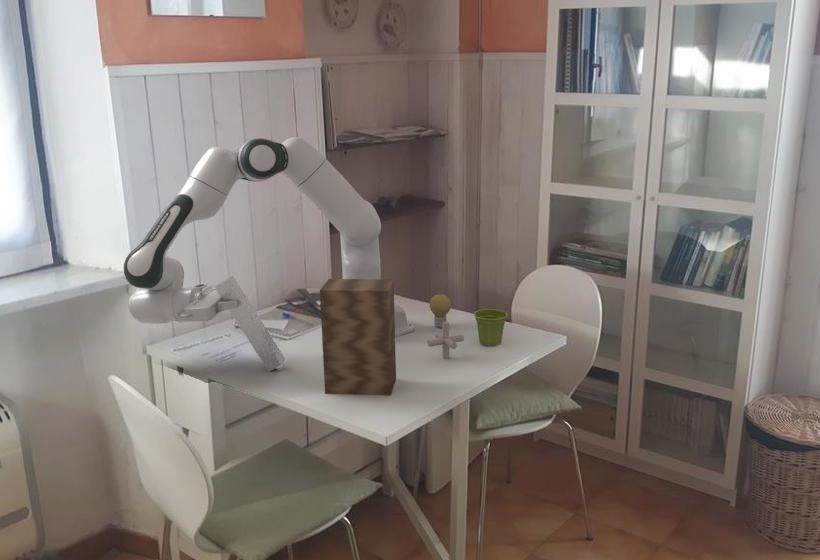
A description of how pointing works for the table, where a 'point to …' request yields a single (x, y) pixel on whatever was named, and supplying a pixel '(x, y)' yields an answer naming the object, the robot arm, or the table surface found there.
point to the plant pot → (490, 326)
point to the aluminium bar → (251, 324)
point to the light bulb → (440, 308)
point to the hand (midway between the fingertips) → (241, 300)
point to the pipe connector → (445, 340)
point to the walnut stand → (358, 336)
